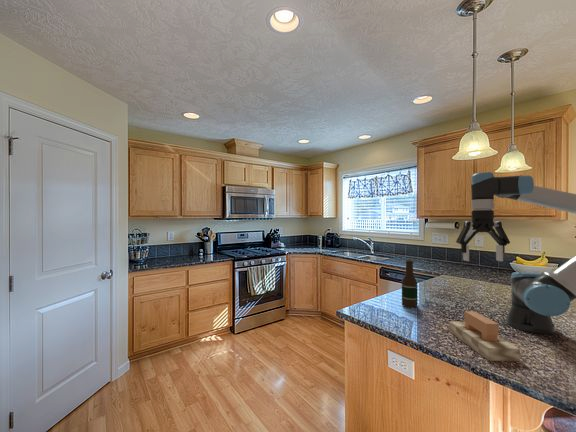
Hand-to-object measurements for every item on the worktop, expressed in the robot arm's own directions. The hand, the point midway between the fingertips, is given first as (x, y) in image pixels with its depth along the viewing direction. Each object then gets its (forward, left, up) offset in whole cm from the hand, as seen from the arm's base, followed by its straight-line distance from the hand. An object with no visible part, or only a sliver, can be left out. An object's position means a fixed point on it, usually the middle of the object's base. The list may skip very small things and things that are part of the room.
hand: (482, 260), depth 108 cm
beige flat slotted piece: (+10, +13, -29) cm, 33 cm away
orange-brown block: (+10, +13, -29) cm, 33 cm away
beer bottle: (+18, -29, -29) cm, 45 cm away
